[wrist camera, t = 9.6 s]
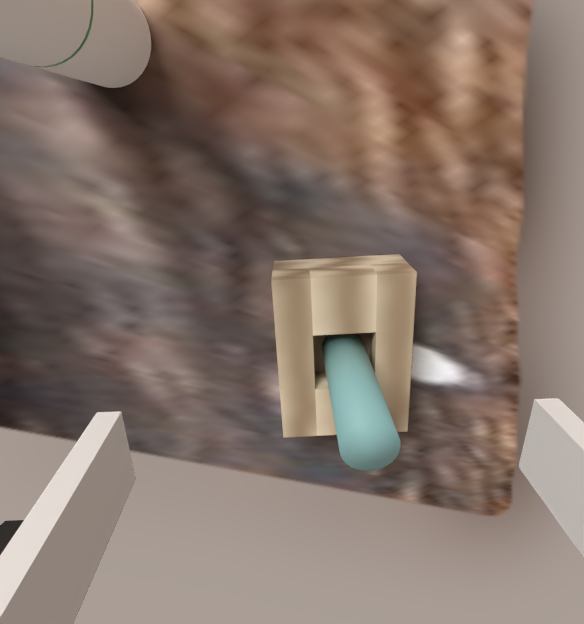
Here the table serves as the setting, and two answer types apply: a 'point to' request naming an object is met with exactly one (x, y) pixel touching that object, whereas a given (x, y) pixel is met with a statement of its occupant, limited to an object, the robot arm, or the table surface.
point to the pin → (358, 405)
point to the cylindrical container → (77, 38)
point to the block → (341, 332)
